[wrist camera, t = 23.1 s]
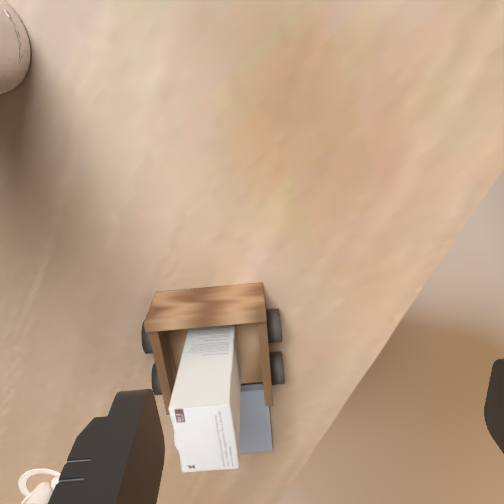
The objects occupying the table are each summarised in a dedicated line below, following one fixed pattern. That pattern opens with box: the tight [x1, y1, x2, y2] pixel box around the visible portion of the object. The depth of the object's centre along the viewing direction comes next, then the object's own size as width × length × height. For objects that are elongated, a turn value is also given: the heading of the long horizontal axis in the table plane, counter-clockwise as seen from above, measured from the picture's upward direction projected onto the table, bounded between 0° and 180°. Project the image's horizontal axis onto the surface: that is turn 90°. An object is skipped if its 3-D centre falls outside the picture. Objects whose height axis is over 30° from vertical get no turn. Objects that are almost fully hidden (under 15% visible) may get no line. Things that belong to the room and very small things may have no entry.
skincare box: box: [168, 324, 241, 473], centre depth 44 cm, size 8×6×15 cm
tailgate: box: [239, 384, 273, 454], centre depth 57 cm, size 12×1×12 cm
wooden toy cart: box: [142, 283, 285, 415], centre depth 49 cm, size 16×14×7 cm
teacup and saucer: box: [18, 468, 61, 504], centre depth 61 cm, size 9×8×4 cm
